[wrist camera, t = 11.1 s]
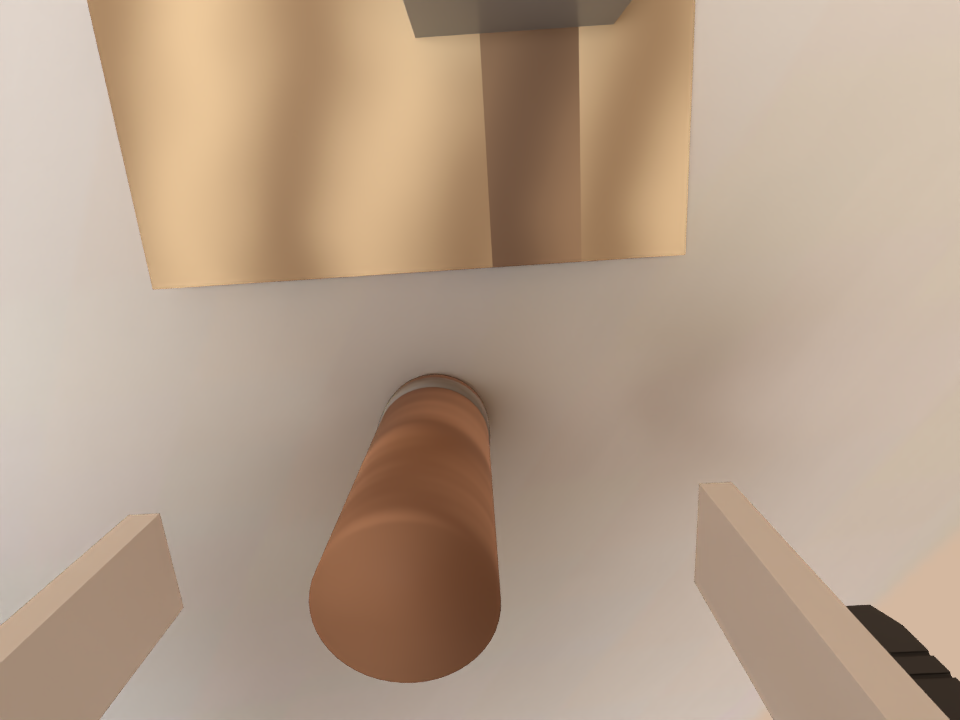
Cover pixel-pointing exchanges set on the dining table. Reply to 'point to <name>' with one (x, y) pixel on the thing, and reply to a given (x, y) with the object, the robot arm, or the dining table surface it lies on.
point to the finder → (507, 15)
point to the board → (393, 138)
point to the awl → (415, 542)
